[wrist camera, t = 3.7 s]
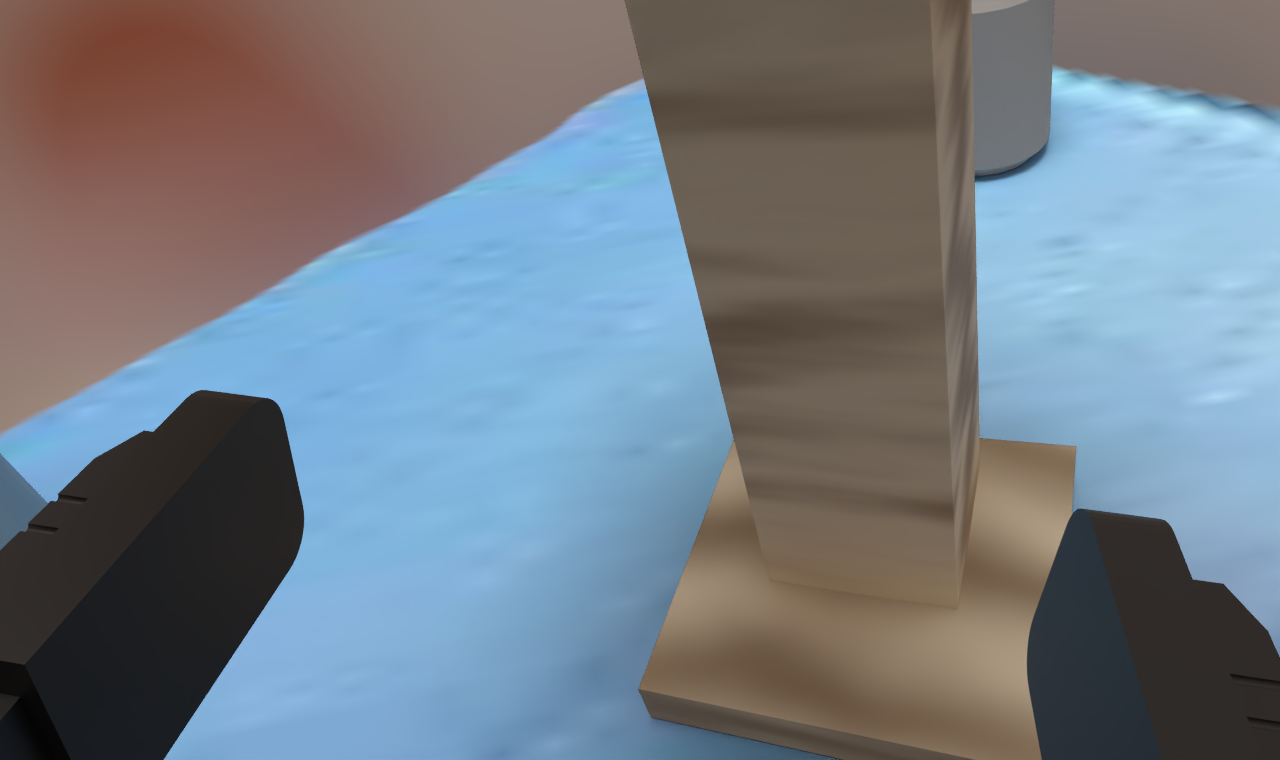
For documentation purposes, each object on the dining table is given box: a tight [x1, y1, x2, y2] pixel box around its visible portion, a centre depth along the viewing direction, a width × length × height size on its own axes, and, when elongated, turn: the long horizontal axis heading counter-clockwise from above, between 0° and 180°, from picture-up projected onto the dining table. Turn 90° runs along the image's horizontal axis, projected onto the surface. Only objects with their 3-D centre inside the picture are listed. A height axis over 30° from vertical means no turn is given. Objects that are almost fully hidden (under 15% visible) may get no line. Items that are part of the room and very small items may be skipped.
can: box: [971, 0, 1055, 176], centre depth 56 cm, size 8×8×12 cm
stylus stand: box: [625, 0, 1076, 760], centre depth 28 cm, size 18×14×34 cm
